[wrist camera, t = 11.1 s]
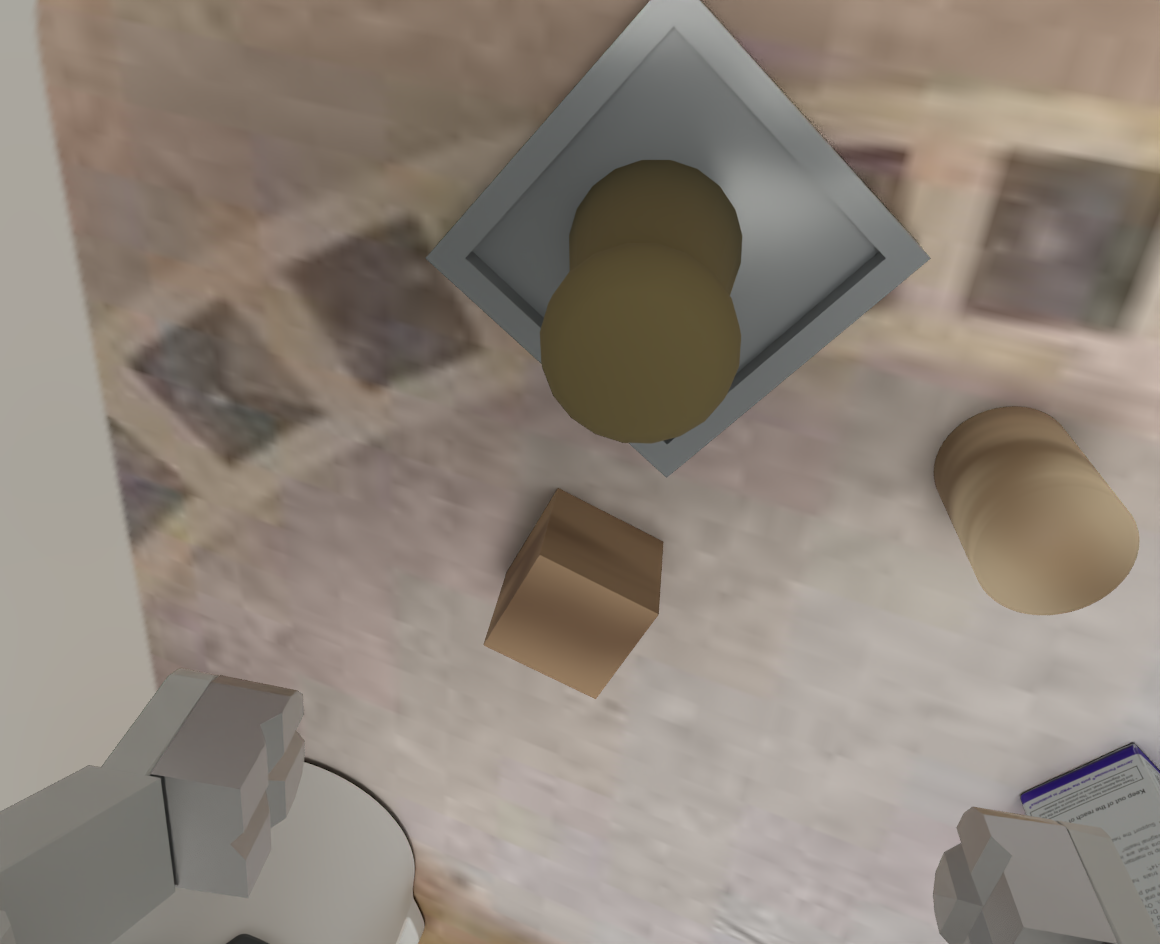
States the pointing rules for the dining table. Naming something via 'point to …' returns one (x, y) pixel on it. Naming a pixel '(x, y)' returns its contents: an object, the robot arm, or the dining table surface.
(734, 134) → the slate dish
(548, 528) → the walnut block
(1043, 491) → the cork cylinder
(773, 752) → the dining table surface
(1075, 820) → the supplement box
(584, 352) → the olive hourglass shape
